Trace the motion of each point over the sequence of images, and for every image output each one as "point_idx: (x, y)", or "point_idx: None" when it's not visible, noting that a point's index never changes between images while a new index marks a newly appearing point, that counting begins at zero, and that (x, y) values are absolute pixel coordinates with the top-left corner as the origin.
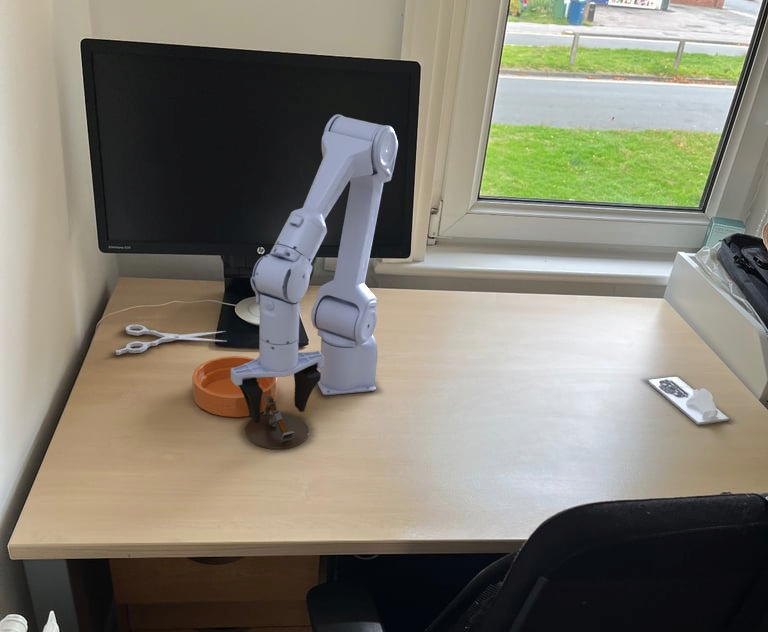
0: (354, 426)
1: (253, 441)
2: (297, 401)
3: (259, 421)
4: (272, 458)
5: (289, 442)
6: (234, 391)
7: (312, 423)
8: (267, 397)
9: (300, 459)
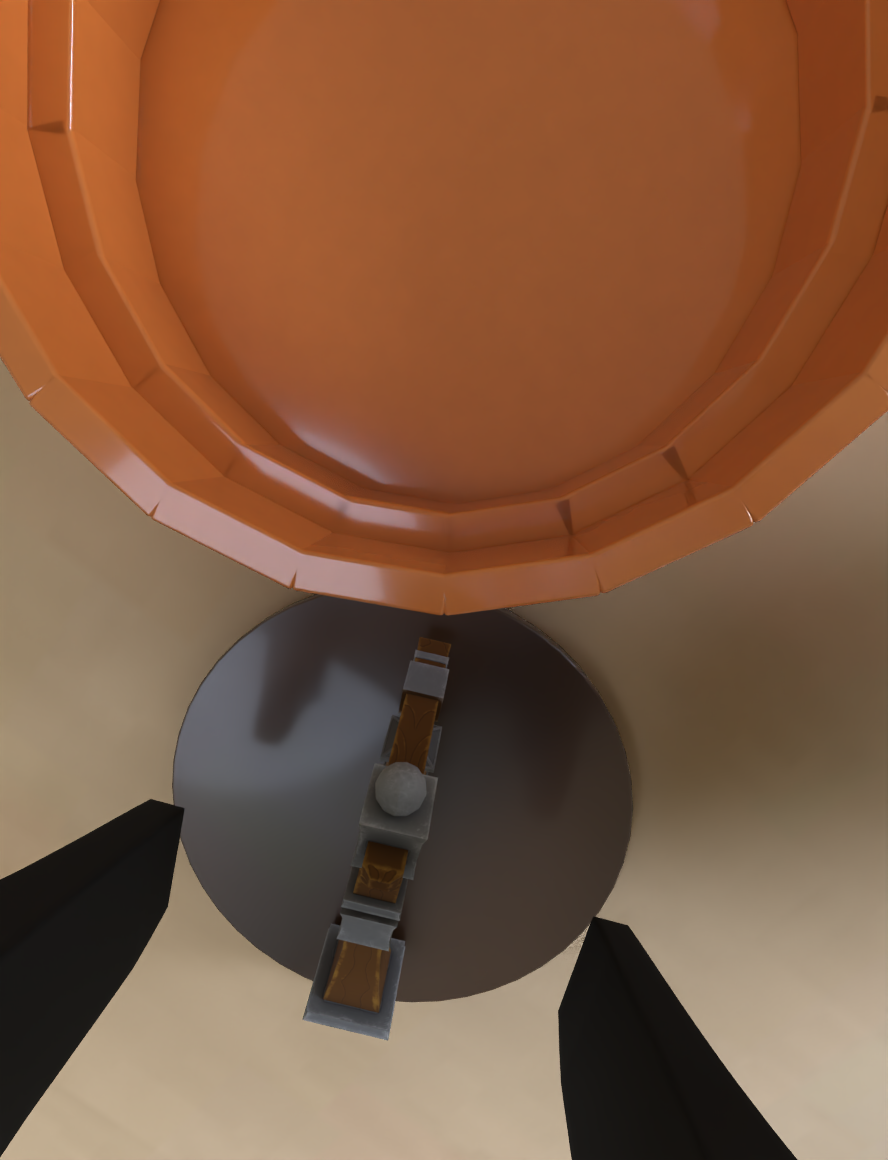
0: (861, 1061)
1: None
2: (594, 1030)
3: (160, 918)
4: (197, 979)
5: None
6: (491, 104)
7: (671, 873)
8: (367, 824)
9: (327, 1078)
